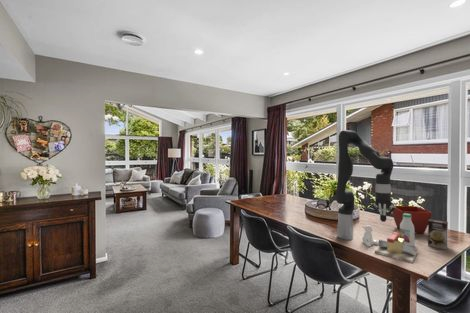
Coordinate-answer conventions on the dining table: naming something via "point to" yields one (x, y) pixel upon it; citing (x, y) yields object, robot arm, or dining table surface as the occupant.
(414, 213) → the plant pot
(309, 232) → the dining table surface
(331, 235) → the dining table surface
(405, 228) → the milk bottle
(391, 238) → the valve lever
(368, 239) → the sitting furry creature
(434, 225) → the coffee box
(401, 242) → the valve body
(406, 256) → the mounting board
